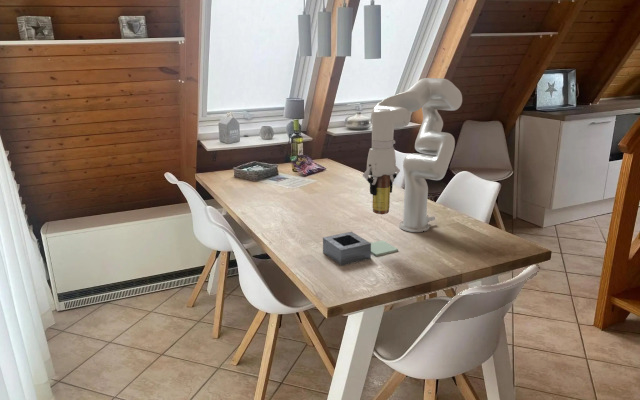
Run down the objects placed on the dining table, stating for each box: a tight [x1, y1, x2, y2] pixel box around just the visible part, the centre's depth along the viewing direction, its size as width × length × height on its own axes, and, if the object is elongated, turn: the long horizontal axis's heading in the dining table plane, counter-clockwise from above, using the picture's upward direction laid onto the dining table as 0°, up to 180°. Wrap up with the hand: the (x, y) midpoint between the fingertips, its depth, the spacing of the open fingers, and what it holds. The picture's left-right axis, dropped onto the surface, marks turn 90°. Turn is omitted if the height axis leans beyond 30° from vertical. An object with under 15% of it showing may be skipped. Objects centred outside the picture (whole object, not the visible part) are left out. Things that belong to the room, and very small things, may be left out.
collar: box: [322, 231, 372, 267], centre depth 179 cm, size 12×13×6 cm
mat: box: [370, 239, 399, 257], centre depth 185 cm, size 10×10×1 cm
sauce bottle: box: [372, 174, 391, 215], centre depth 178 cm, size 6×6×20 cm
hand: (381, 192), depth 178 cm, fingers closed on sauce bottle, 6 cm apart
